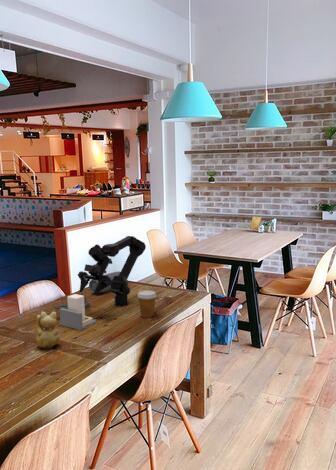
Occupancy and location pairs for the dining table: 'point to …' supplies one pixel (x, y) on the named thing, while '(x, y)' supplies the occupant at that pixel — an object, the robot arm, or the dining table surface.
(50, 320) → the decorative figurine
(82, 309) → the white cabinet
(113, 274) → the bluetooth speaker
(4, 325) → the dining table surface
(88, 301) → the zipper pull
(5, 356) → the dining table surface
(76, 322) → the board
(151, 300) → the disposable coffee cup
